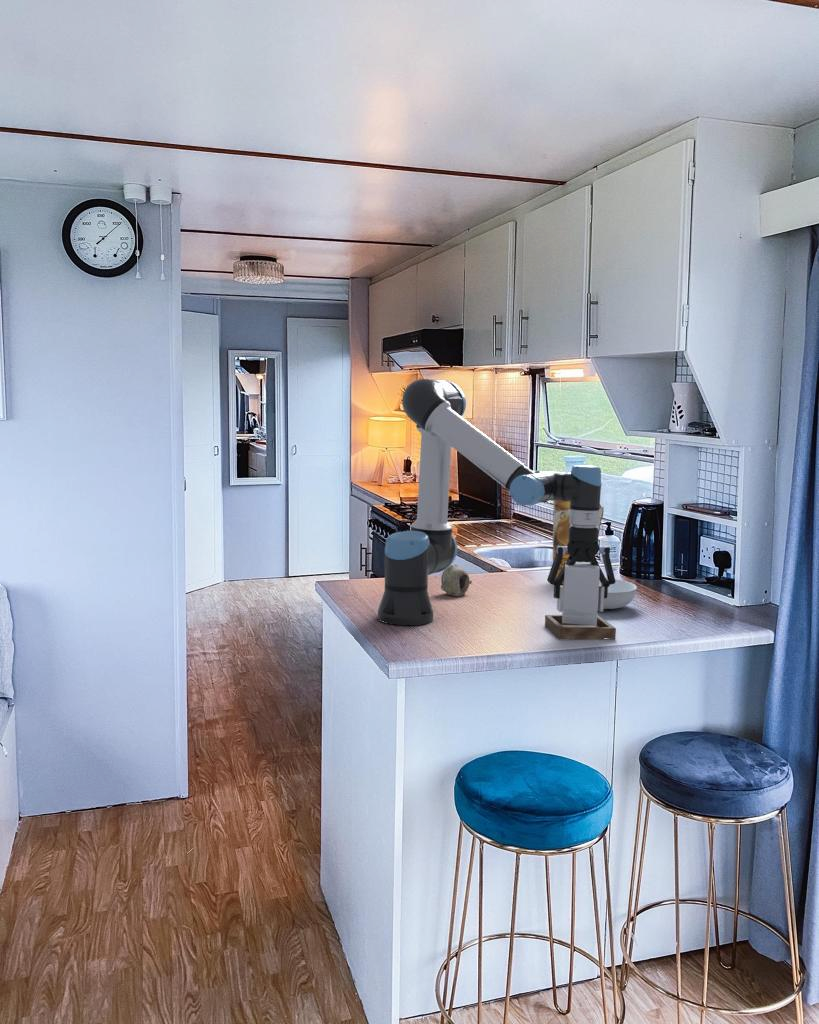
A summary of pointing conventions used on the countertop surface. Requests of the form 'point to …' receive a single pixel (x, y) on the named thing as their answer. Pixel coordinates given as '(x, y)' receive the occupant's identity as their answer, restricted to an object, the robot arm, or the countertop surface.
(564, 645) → the countertop surface
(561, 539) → the pancake mix bag
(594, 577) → the supplement box
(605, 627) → the brown wooden tray
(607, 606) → the serving bowl
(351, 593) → the countertop surface
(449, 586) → the greenish lumpy pot
